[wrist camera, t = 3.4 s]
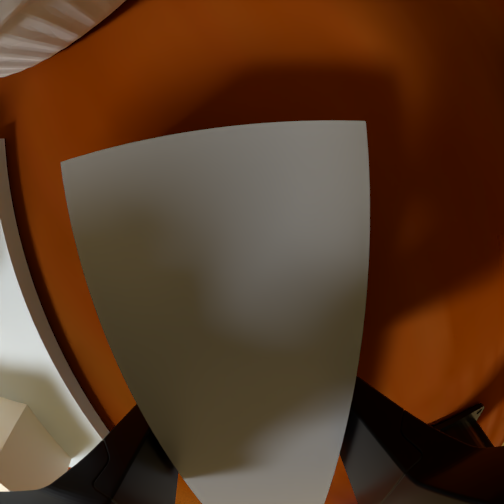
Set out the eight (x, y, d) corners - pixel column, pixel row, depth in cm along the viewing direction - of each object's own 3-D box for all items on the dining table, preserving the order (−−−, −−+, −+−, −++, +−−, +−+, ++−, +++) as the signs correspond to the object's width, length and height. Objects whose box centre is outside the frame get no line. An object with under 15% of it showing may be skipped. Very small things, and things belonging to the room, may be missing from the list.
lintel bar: (302, 135, 7) (365, 121, 4) (306, 448, 12) (321, 512, 8) (139, 155, 7) (60, 162, 3) (218, 457, 12) (218, 522, 8)
